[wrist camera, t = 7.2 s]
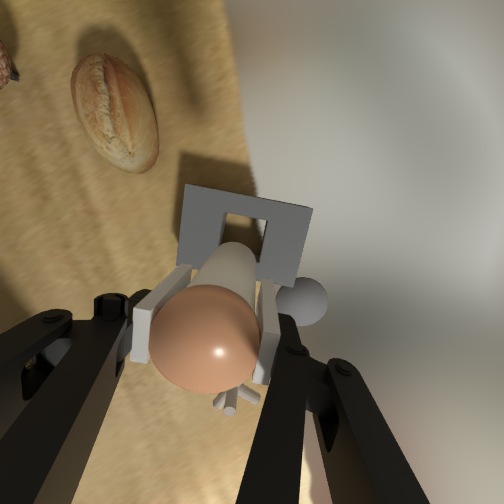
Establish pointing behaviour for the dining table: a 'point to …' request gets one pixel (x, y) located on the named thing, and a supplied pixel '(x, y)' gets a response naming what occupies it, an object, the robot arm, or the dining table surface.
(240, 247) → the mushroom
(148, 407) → the dining table surface
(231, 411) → the pipe connector
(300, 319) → the grey round plate
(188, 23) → the dining table surface
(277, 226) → the grey flat block
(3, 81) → the brown spinning top
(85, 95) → the bread roll
